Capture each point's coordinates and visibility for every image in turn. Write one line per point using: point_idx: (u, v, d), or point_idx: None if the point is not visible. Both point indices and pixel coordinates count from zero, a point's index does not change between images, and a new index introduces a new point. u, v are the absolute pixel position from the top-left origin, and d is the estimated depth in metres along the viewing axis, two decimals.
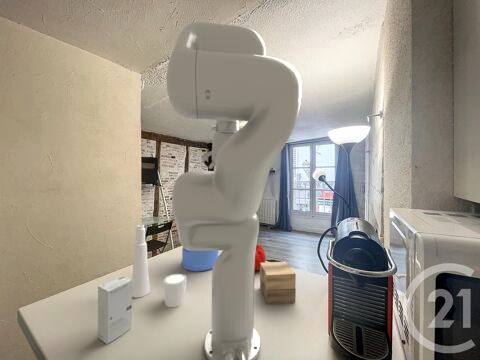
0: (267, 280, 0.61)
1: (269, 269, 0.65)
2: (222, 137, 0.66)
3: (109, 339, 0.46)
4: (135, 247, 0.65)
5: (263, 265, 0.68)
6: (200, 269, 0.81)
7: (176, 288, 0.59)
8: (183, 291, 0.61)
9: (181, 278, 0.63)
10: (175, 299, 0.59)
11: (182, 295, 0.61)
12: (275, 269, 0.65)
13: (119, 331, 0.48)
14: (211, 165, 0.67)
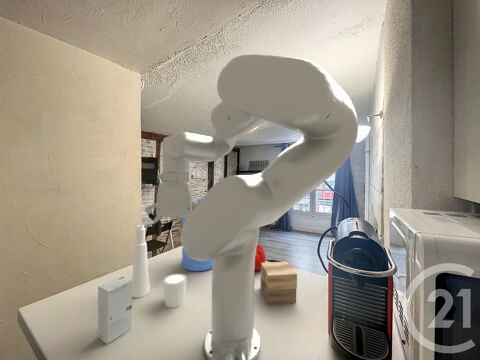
0: (268, 280, 0.61)
1: (271, 269, 0.65)
2: (167, 189, 0.59)
3: (109, 339, 0.46)
4: (135, 247, 0.65)
5: (264, 265, 0.68)
6: (200, 269, 0.81)
7: (176, 288, 0.59)
8: (183, 291, 0.61)
9: (181, 278, 0.63)
10: (175, 299, 0.59)
11: (182, 295, 0.61)
12: (276, 269, 0.65)
13: (119, 331, 0.48)
14: (156, 219, 0.60)
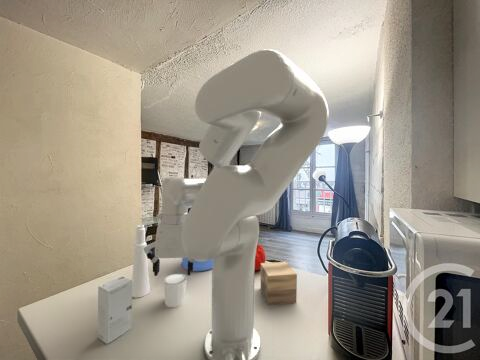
0: (268, 281, 0.61)
1: (270, 269, 0.65)
2: (166, 231, 0.59)
3: (109, 339, 0.46)
4: (135, 247, 0.65)
5: (264, 266, 0.67)
6: (200, 269, 0.81)
7: (176, 288, 0.59)
8: (183, 291, 0.61)
9: (181, 278, 0.63)
10: (175, 299, 0.59)
11: (182, 295, 0.61)
12: (275, 269, 0.65)
13: (119, 331, 0.48)
14: (154, 259, 0.60)
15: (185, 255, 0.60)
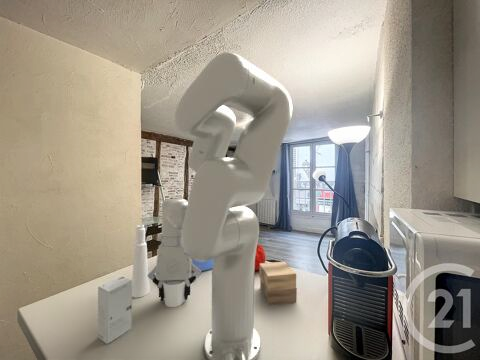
0: (268, 281, 0.61)
1: (270, 269, 0.65)
2: (167, 253, 0.59)
3: (109, 339, 0.46)
4: (135, 247, 0.65)
5: (263, 266, 0.67)
6: (200, 269, 0.81)
7: (176, 288, 0.59)
8: (183, 291, 0.61)
9: None
10: (175, 299, 0.59)
11: (182, 295, 0.61)
12: (275, 269, 0.65)
13: (119, 331, 0.48)
14: (160, 284, 0.60)
15: (186, 277, 0.60)
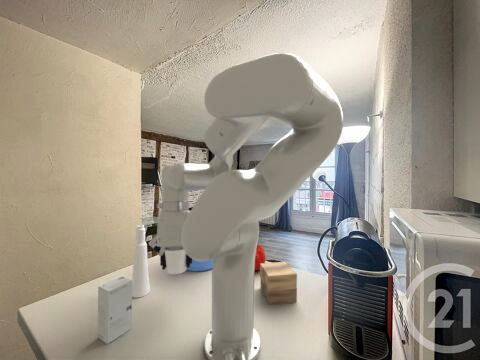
0: (269, 281, 0.61)
1: (270, 269, 0.65)
2: (167, 219, 0.58)
3: (109, 339, 0.46)
4: (135, 247, 0.65)
5: (263, 266, 0.67)
6: (200, 269, 0.81)
7: (178, 254, 0.58)
8: (185, 258, 0.60)
9: None
10: (177, 266, 0.59)
11: (184, 262, 0.60)
12: (275, 269, 0.65)
13: (119, 331, 0.48)
14: (162, 252, 0.60)
15: None
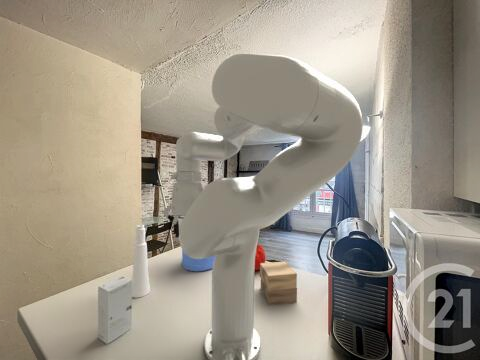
0: (269, 281, 0.61)
1: (270, 269, 0.65)
2: (182, 188, 0.60)
3: (109, 339, 0.46)
4: (135, 247, 0.65)
5: (263, 266, 0.67)
6: (200, 269, 0.81)
7: None
8: None
9: None
10: None
11: None
12: (275, 269, 0.65)
13: (119, 331, 0.48)
14: (175, 220, 0.61)
15: None
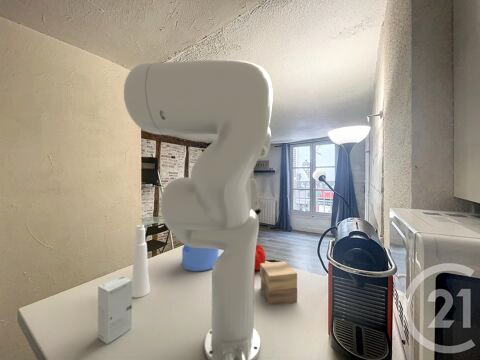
0: (270, 281, 0.61)
1: (271, 269, 0.65)
2: None
3: (109, 339, 0.46)
4: (135, 247, 0.65)
5: (263, 266, 0.67)
6: (200, 269, 0.81)
7: None
8: None
9: None
10: None
11: None
12: (276, 269, 0.65)
13: (119, 331, 0.48)
14: None
15: (255, 207, 0.66)
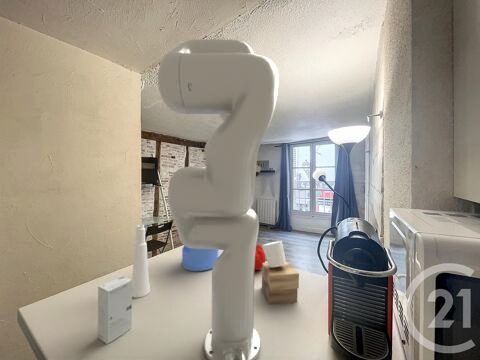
0: (271, 280, 0.61)
1: (272, 269, 0.65)
2: None
3: (109, 339, 0.46)
4: (135, 247, 0.65)
5: (265, 265, 0.68)
6: (200, 269, 0.81)
7: (281, 245, 0.66)
8: None
9: (275, 242, 0.69)
10: (283, 256, 0.65)
11: None
12: (277, 269, 0.65)
13: (119, 331, 0.48)
14: None
15: None
